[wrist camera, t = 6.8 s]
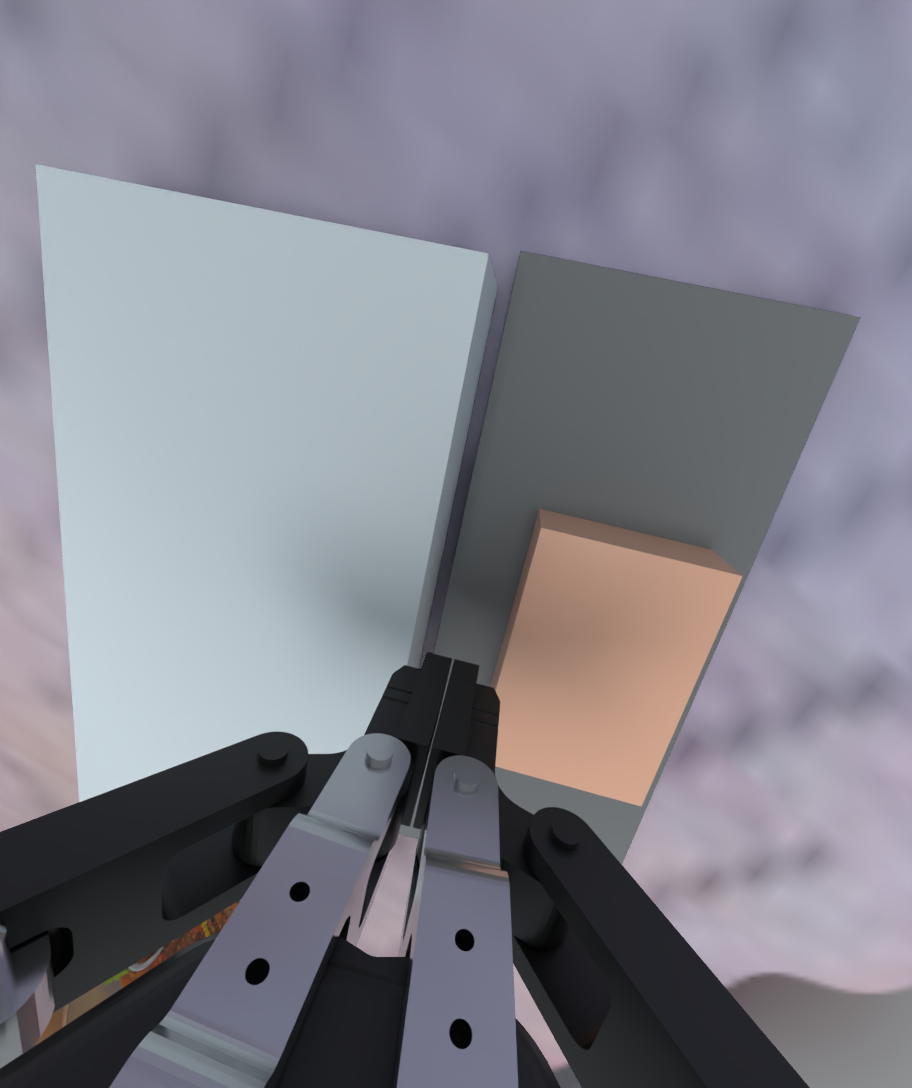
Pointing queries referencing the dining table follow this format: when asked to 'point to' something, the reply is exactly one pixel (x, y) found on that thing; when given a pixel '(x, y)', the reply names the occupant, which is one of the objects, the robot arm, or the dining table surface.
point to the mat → (629, 449)
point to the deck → (246, 463)
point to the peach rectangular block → (604, 652)
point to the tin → (134, 972)
